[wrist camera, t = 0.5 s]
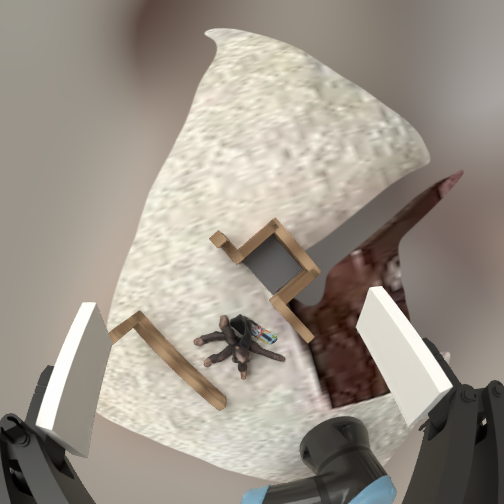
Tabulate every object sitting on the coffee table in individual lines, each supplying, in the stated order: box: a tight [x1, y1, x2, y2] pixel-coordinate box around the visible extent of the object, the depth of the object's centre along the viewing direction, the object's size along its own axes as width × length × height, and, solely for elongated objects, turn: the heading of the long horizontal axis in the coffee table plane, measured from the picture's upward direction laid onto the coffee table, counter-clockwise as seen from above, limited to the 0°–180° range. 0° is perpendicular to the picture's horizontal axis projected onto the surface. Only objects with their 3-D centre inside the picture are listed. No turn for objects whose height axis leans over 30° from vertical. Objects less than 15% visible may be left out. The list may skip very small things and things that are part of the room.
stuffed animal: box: [194, 314, 285, 380], centre depth 44 cm, size 12×10×12 cm
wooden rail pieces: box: [109, 218, 321, 411], centre depth 38 cm, size 22×28×12 cm
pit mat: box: [243, 234, 302, 294], centre depth 44 cm, size 7×6×1 cm
